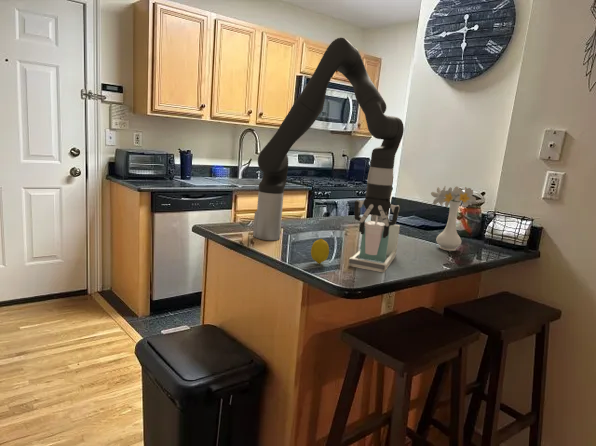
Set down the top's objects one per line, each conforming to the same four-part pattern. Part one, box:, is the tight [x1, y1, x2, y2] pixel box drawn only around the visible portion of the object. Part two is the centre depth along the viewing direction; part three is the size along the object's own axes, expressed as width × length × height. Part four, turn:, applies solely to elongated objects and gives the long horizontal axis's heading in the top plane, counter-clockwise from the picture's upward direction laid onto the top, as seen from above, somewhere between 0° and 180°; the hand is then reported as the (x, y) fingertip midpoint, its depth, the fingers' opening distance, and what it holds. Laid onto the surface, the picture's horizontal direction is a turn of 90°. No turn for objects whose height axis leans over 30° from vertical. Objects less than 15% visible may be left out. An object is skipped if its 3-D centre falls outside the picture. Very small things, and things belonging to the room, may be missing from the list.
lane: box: [348, 220, 401, 273], centre depth 140 cm, size 11×23×11 cm, turn 159°
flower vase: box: [430, 185, 477, 252], centre depth 166 cm, size 13×18×25 cm
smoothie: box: [364, 215, 385, 255], centre depth 134 cm, size 6×6×14 cm
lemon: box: [310, 238, 330, 265], centre depth 131 cm, size 6×6×8 cm
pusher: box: [359, 230, 390, 263], centre depth 138 cm, size 8×1×10 cm, turn 69°
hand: (373, 235), depth 134 cm, fingers closed on smoothie, 6 cm apart
